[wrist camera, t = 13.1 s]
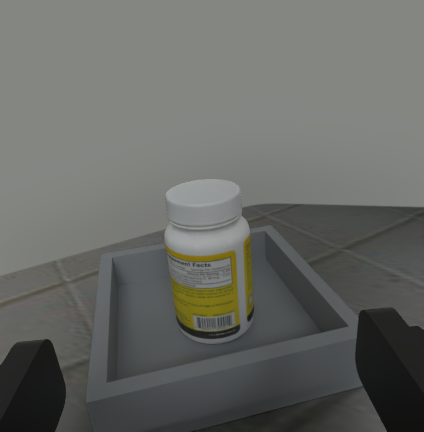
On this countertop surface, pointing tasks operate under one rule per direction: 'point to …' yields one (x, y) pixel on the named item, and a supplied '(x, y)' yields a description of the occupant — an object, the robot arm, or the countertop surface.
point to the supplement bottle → (209, 260)
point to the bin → (213, 345)
